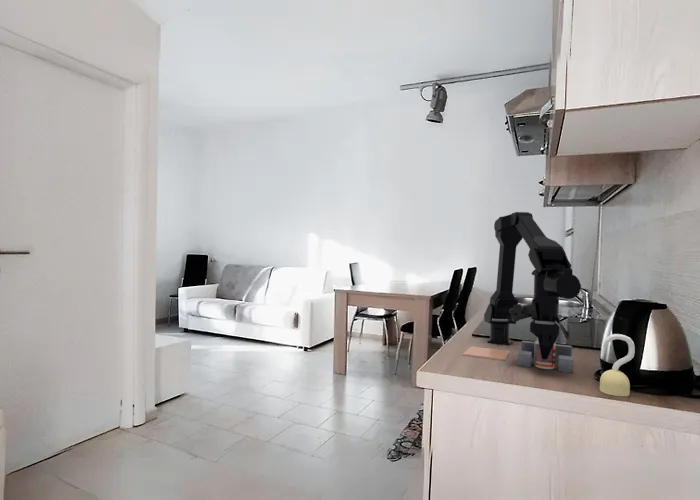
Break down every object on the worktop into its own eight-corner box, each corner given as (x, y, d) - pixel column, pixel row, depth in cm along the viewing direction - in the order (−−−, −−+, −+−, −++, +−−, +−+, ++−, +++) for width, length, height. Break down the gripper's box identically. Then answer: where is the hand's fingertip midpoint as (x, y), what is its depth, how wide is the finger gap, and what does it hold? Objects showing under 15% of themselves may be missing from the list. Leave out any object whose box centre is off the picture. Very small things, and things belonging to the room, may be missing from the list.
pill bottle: (557, 370, 104) (558, 335, 104) (536, 368, 105) (537, 334, 105) (552, 365, 109) (553, 332, 109) (532, 364, 110) (533, 331, 110)
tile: (470, 347, 127) (470, 346, 127) (509, 352, 122) (509, 350, 122) (462, 355, 117) (462, 353, 117) (505, 360, 113) (505, 359, 113)
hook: (604, 394, 87) (605, 335, 87) (596, 387, 92) (597, 331, 92) (638, 398, 85) (639, 337, 85) (629, 390, 90) (630, 333, 90)
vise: (523, 351, 123) (523, 338, 124) (570, 357, 118) (571, 342, 118) (517, 365, 108) (518, 349, 108) (572, 372, 102) (572, 355, 102)
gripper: (515, 290, 119) (514, 346, 119) (508, 295, 102) (506, 360, 102) (560, 292, 114) (558, 351, 114) (559, 298, 97) (558, 367, 97)
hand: (544, 356), depth 107 cm, fingers closed on pill bottle, 5 cm apart
